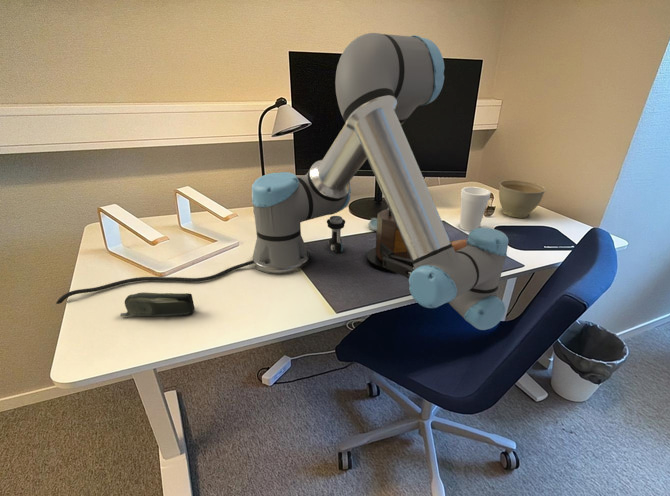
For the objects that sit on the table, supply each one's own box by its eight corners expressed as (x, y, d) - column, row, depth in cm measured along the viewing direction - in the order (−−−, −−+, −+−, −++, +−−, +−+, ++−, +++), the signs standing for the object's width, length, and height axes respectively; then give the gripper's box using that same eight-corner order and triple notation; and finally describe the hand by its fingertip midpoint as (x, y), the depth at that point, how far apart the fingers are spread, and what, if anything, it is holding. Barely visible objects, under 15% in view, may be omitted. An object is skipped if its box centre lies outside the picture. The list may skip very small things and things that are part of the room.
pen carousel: (372, 249, 115) (374, 201, 108) (402, 246, 118) (407, 199, 110) (383, 264, 108) (386, 213, 100) (415, 261, 110) (421, 211, 102)
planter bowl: (538, 224, 143) (546, 194, 137) (492, 217, 147) (499, 188, 141) (536, 210, 156) (544, 182, 150) (494, 204, 160) (500, 177, 154)
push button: (321, 246, 120) (321, 215, 115) (336, 243, 123) (336, 212, 117) (333, 255, 115) (332, 222, 110) (348, 251, 118) (348, 219, 113)
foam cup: (488, 231, 136) (496, 194, 129) (465, 234, 133) (472, 196, 126) (472, 221, 143) (479, 185, 136) (450, 224, 140) (456, 187, 133)
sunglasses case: (464, 241, 126) (474, 228, 121) (475, 259, 124) (487, 246, 118) (419, 252, 118) (428, 239, 112) (430, 271, 116) (440, 258, 110)
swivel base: (380, 277, 105) (380, 271, 105) (358, 253, 117) (359, 248, 116) (428, 268, 111) (429, 263, 110) (403, 246, 122) (403, 242, 121)
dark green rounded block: (192, 290, 87) (118, 292, 85) (189, 297, 85) (113, 299, 82) (196, 309, 90) (124, 311, 87) (193, 316, 87) (119, 319, 85)
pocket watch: (384, 206, 121) (360, 192, 132) (382, 239, 127) (359, 222, 138) (411, 201, 125) (386, 188, 136) (407, 233, 131) (384, 218, 142)
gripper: (398, 305, 87) (360, 263, 103) (489, 285, 96) (441, 250, 112) (401, 275, 83) (361, 237, 99) (495, 258, 92) (445, 225, 108)
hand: (404, 244), depth 106 cm, fingers open, 13 cm apart
